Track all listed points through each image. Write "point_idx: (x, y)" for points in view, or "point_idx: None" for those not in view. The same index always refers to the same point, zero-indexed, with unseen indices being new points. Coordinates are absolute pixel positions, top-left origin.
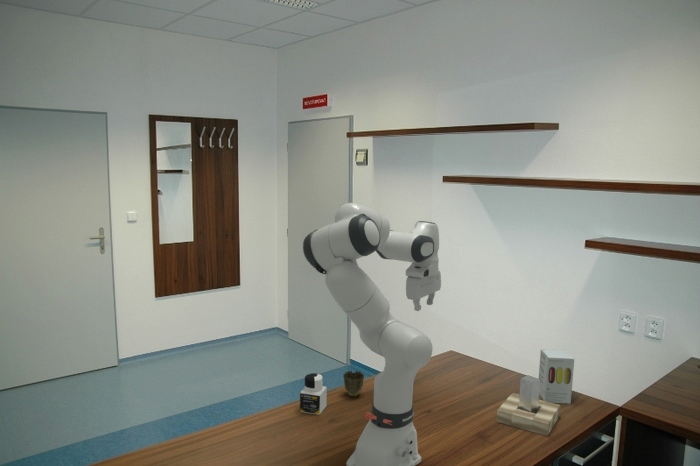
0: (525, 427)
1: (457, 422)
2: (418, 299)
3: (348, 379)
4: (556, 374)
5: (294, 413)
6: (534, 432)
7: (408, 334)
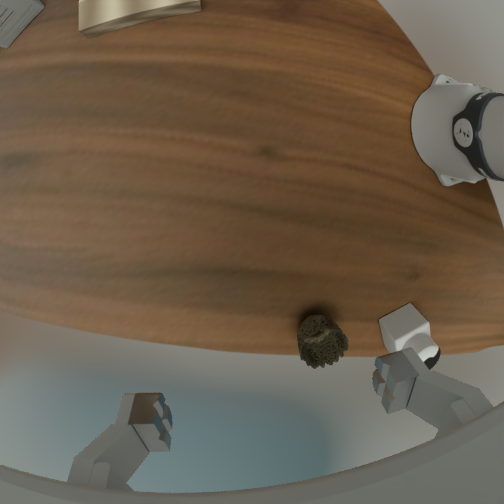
0: None
1: (269, 70)
2: (490, 405)
3: (346, 341)
4: None
5: None
6: None
7: None
